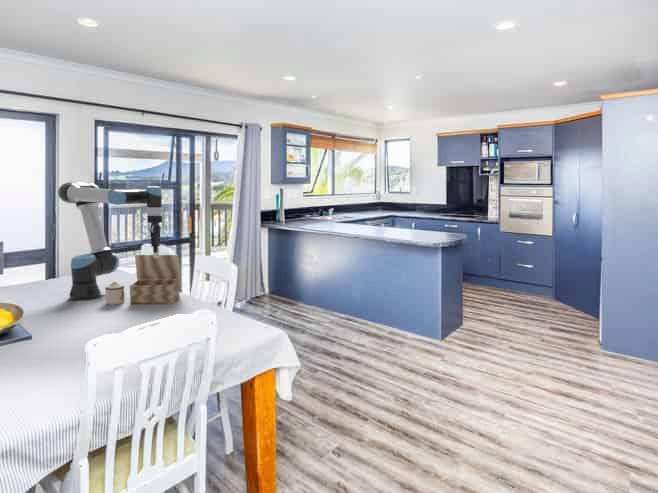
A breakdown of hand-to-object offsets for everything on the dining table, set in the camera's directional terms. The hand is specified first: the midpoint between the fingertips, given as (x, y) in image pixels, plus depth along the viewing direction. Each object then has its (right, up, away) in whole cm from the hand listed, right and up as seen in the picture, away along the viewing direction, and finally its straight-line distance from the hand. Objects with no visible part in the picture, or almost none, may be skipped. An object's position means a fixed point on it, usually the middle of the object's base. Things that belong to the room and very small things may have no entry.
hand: (156, 258), depth 235 cm
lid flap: (0, -5, +3) cm, 6 cm away
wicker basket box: (0, -23, -1) cm, 23 cm away
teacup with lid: (-19, -24, -6) cm, 31 cm away
